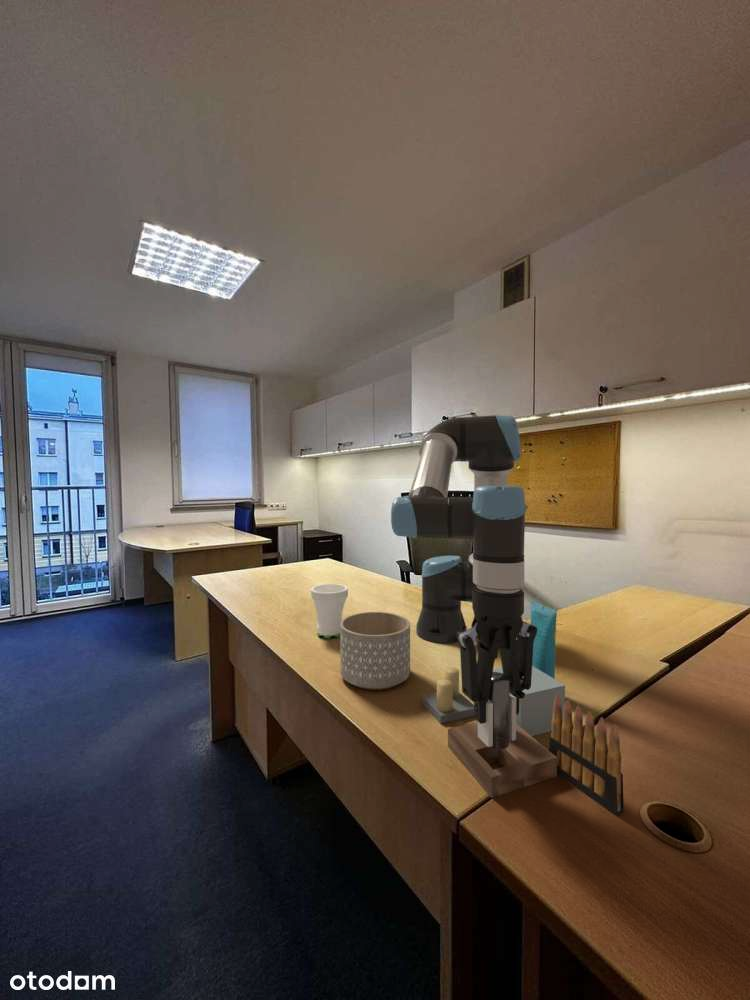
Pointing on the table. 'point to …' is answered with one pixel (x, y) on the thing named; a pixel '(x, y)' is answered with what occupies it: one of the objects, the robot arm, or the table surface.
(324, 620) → the cup
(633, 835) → the table surface
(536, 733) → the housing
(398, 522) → the robot arm
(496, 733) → the peg
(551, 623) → the tube
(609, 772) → the ammunition clip
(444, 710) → the board
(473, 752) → the socket board
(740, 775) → the table surface
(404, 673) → the planter
